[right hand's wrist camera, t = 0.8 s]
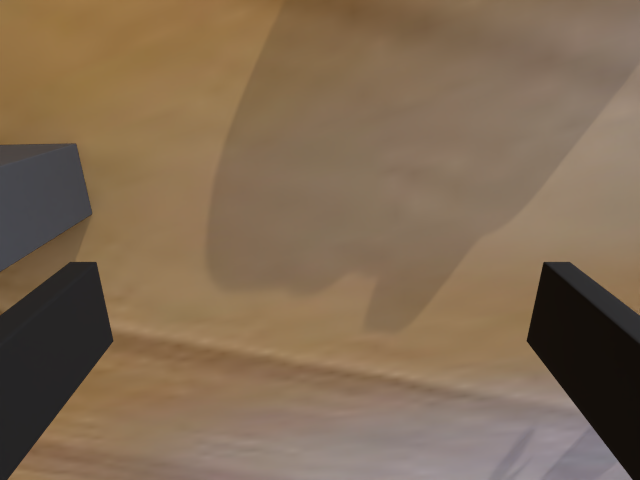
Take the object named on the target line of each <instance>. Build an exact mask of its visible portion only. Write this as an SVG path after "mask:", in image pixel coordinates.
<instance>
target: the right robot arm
mask: <svg viewBox="0 0 640 480" xmlns="http://www.w3.org/2000/svg"><path fill="white" fill-rule="evenodd" d="M112 342H113V337H112V332H111V328H110V323H109V318H108V314H107V309H106V305H105V300H104V295H103V291H102V286H101V281H100V277H99V272H98V267H97V263H96V262H70V263H68V264H67V265H66V266H64V267H63V268H62V269H61V270H59V271H58V272H57V273H55V274H54V275H53V276H51V277H50V278H49V279H47V280H46V281H45V282H44V283H42V284H41V285H40V286H38V287H37V288H36V289H34V290H33V291H32V292H30V293H29V294H28V295H27V296H25V297H24V298H23V299H21V300H20V301H19V302H17V303H16V304H15V305H14V306H12V307H11V308H10V309H8V310H7V311H6V312H4V313H3V314H2V315H0V480H7V479H8V478H9V477H10V475H11V474H12V473H13V472H14V470H15V469H16V468H17V466H18V465H19V464H20V462H21V461H22V460H23V458H24V457H25V456H26V455H27V453H28V452H29V451H30V449H31V448H32V447H33V445H34V444H35V443H36V441H37V440H38V439H39V438H40V436H41V435H42V434H43V432H44V431H45V430H46V428H47V427H48V426H49V424H50V423H51V422H52V421H53V419H54V418H55V417H56V415H57V414H58V413H59V411H60V410H61V409H62V407H63V406H64V405H65V404H66V402H67V401H68V400H69V398H70V397H71V396H72V394H73V393H74V392H75V390H76V389H77V388H78V387H79V385H80V384H81V383H82V381H83V380H84V379H85V377H86V376H87V375H88V374H89V372H90V371H91V370H92V368H93V367H94V366H95V364H96V363H97V362H98V360H99V359H100V358H101V357H102V355H103V354H104V353H105V351H106V350H107V349H108V347H109V346H110V345H111V343H112ZM527 342H528V343H529V345H530V346H531V347H532V349H533V350H534V351H535V353H536V354H537V355H538V357H539V358H540V359H541V360H542V362H543V363H544V364H545V366H546V367H547V368H548V370H549V371H550V372H551V374H552V375H553V376H554V377H555V379H556V380H557V381H558V383H559V384H560V385H561V387H562V388H563V389H564V390H565V392H566V393H567V394H568V396H569V397H570V398H571V400H572V401H573V402H574V404H575V405H576V406H577V407H578V409H579V410H580V411H581V413H582V414H583V415H584V417H585V418H586V419H587V421H588V422H589V423H590V424H591V426H592V427H593V428H594V430H595V431H596V432H597V434H598V435H599V436H600V438H601V439H602V440H603V441H604V443H605V444H606V445H607V447H608V448H609V449H610V451H611V452H612V453H613V455H614V456H615V457H616V458H617V460H618V461H619V462H620V464H621V465H622V466H623V468H624V469H625V470H626V472H627V473H628V474H629V475H630V477H631V478H632V479H633V480H640V315H638V314H637V313H636V312H634V311H633V310H632V309H630V308H629V307H628V306H626V305H625V304H624V303H623V302H621V301H620V300H619V299H617V298H616V297H615V296H613V295H612V294H611V293H609V292H608V291H607V290H606V289H604V288H603V287H602V286H600V285H599V284H598V283H596V282H595V281H594V280H593V279H591V278H590V277H589V276H587V275H586V274H585V273H583V272H582V271H581V270H579V269H578V268H577V267H576V266H574V265H573V264H572V263H570V262H544V263H543V267H542V272H541V277H540V281H539V286H538V291H537V295H536V300H535V305H534V309H533V314H532V318H531V323H530V328H529V332H528V337H527Z"/></svg>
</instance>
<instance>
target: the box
mask: <svg viewBox="0 0 640 480" xmlns="http://www.w3.org/2000/svg"><path fill="white" fill-rule="evenodd" d="M91 214H92V210H91V206H90V202H89V197H88V193H87V189H86V184H85V180H84V176H83V171H82V167H81V163H80V158H79V154H78V150H77V145H76V144H26V145H0V272H1V271H2V270H4V269H6V268H7V267H9V266H10V265H12V264H14V263H15V262H17V261H18V260H20V259H21V258H23V257H25V256H26V255H28V254H29V253H31V252H33V251H34V250H36V249H37V248H39V247H41V246H42V245H44V244H45V243H47V242H48V241H50V240H52V239H53V238H55V237H56V236H58V235H60V234H61V233H63V232H64V231H66V230H68V229H69V228H71V227H72V226H74V225H75V224H77V223H79V222H80V221H82V220H83V219H85V218H87V217H88V216H90V215H91Z"/></svg>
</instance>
